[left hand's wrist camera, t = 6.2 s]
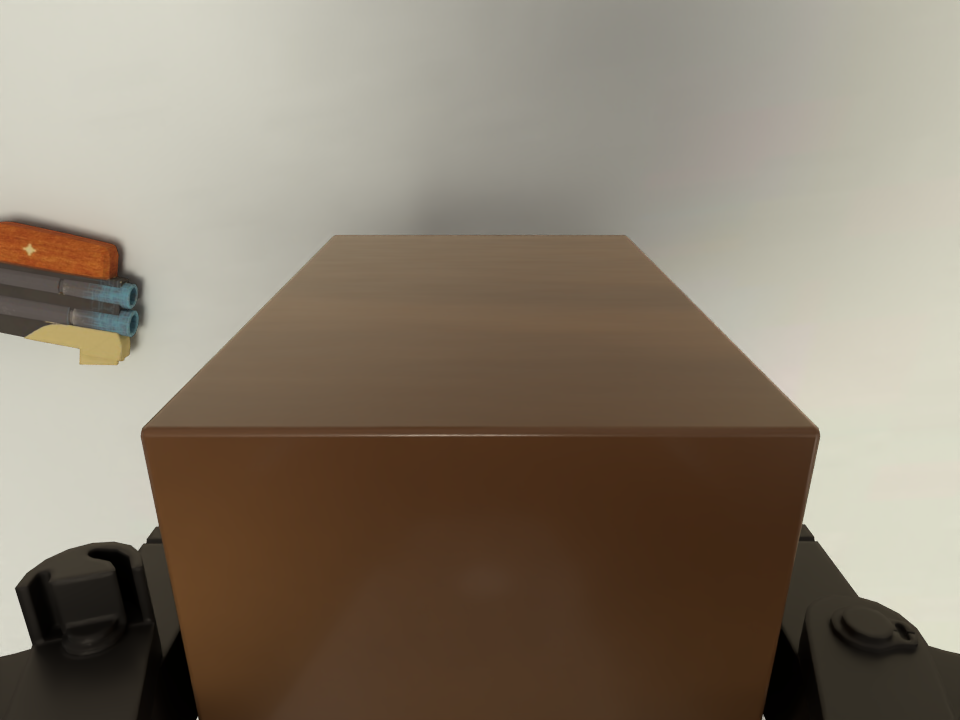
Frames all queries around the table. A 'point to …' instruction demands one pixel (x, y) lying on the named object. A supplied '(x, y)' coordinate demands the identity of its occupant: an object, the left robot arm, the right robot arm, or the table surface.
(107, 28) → the table surface
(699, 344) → the bar
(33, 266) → the toy gun
